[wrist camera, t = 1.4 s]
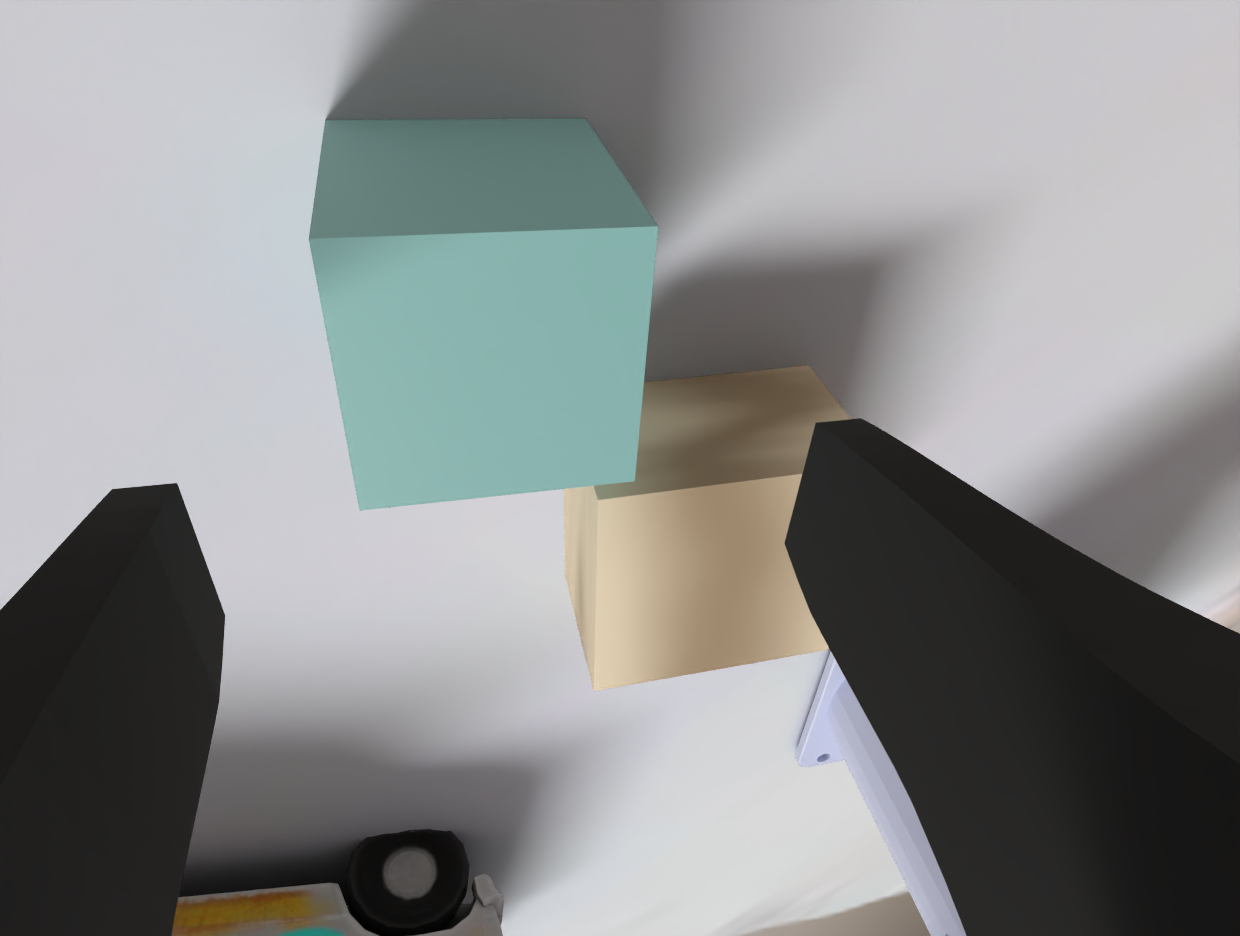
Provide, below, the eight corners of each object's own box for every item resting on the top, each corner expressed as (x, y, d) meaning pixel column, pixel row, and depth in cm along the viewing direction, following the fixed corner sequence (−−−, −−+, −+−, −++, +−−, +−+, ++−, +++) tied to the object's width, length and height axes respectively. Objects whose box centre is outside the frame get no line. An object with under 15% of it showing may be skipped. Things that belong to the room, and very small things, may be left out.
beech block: (806, 361, 20) (885, 463, 17) (769, 540, 23) (828, 649, 20) (561, 385, 18) (597, 500, 15) (563, 570, 22) (593, 691, 19)
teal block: (585, 117, 15) (658, 226, 11) (577, 335, 18) (634, 481, 14) (325, 118, 14) (309, 239, 10) (361, 349, 17) (359, 510, 13)
